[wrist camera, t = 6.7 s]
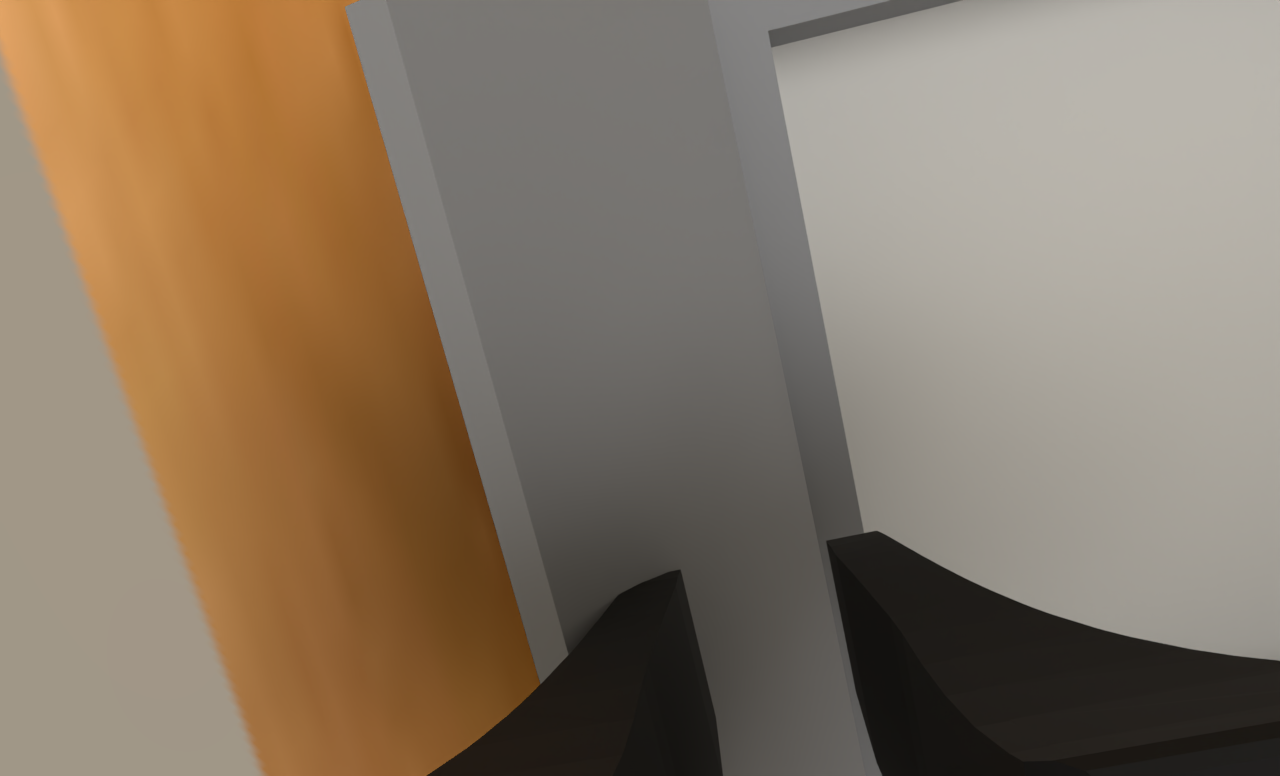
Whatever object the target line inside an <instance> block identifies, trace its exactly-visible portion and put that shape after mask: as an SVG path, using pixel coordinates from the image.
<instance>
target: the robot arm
mask: <svg viewBox="0 0 1280 776" xmlns="http://www.w3.org/2000/svg"><path fill="white" fill-rule="evenodd" d="M826 544H827V549H828V554H829V559H830V564H831V569H832V574H833V579H834V584H835V589H836V594H837V599H838V604H839V609H840V614H841V619H842V624H843V629H844V634H845V640H846V645H847V650H848V655H849V660H850V665H851V670H852V675H853V680H854V685H855V690H856V694H857V697H858V701H859V704H860V708H861V711H862V715H863V718H864V722H865V725H866V729H867V732H868V735H869V739H870V742H871V745H872V749H873V752H874V756H875V759H876V762H877V765H878V767H879V769H880V772H881V774H882V776H1280V661H1278V660H1269V659H1260V658H1251V657H1242V656H1233V655H1227V654H1220V653H1213V652H1207V651H1200V650H1194V649H1188V648H1183V647H1178V646H1173V645H1168V644H1163V643H1158V642H1153V641H1149V640H1144V639H1139V638H1134V637H1129V636H1125V635H1121V634H1117V633H1113V632H1109V631H1105V630H1102V629H1098V628H1095V627H1091V626H1088V625H1085V624H1082V623H1078V622H1075V621H1072V620H1069V619H1065V618H1062V617H1059V616H1056V615H1052V614H1049V613H1047V612H1044V611H1041V610H1038V609H1036V608H1033V607H1030V606H1027V605H1025V604H1022V603H1020V602H1018V601H1015V600H1013V599H1011V598H1008V597H1006V596H1003V595H1001V594H999V593H996V592H994V591H992V590H989V589H987V588H985V587H983V586H980V585H978V584H976V583H974V582H972V581H970V580H968V579H966V578H964V577H962V576H960V575H958V574H956V573H954V572H952V571H950V570H948V569H946V568H944V567H942V566H940V565H938V564H937V563H935V562H933V561H931V560H929V559H927V558H926V557H924V556H922V555H920V554H918V553H917V552H915V551H913V550H911V549H910V548H908V547H906V546H904V545H903V544H901V543H899V542H897V541H896V540H894V539H892V538H890V537H889V536H887V535H885V534H883V533H881V532H879V531H872V532H867V533H862V534H857V535H852V536H847V537H842V538H837V539H832V540H827V541H826ZM427 776H723V771H722V763H721V754H720V746H719V738H718V730H717V722H716V715H715V711H714V707H713V703H712V699H711V694H710V690H709V686H708V682H707V678H706V673H705V669H704V665H703V661H702V657H701V652H700V648H699V644H698V640H697V636H696V632H695V627H694V623H693V619H692V615H691V611H690V606H689V602H688V598H687V594H686V590H685V585H684V581H683V577H682V573H681V569H680V570H675V571H670V572H667V573H664V574H662V575H660V576H657V577H655V578H652V579H650V580H647V581H645V582H642V583H640V584H638V585H636V586H634V587H632V588H630V589H628V590H626V591H624V592H622V593H621V594H619V595H618V596H617V597H616V598H615V599H614V601H613V602H612V603H611V605H610V606H609V607H608V608H607V610H606V611H605V612H604V613H603V615H602V616H601V617H600V618H599V620H598V621H597V622H596V623H595V624H594V626H593V627H592V628H591V629H590V630H589V632H588V633H587V634H586V635H585V636H584V638H583V639H582V640H581V641H580V642H579V644H578V645H577V646H576V647H575V648H574V650H573V651H572V652H571V653H570V654H569V655H568V656H567V657H566V658H565V659H564V660H563V661H562V662H561V663H560V664H559V665H558V666H557V668H556V669H555V670H554V671H553V672H552V673H551V674H550V675H549V676H548V677H547V678H546V679H545V680H544V681H543V682H542V683H541V684H540V685H539V687H538V688H537V689H536V690H535V691H534V692H533V693H532V694H531V695H530V696H529V697H527V698H526V699H525V700H524V701H523V702H522V703H521V704H520V705H519V706H518V707H517V708H516V709H514V710H513V711H512V712H511V713H510V714H509V715H508V716H507V717H505V718H504V719H503V720H502V721H500V722H499V723H498V724H497V725H496V726H494V727H493V728H492V729H491V730H490V731H488V732H487V733H486V734H485V735H484V736H482V737H481V738H480V739H479V740H477V741H476V742H475V743H473V744H472V745H471V746H469V747H468V748H467V749H465V750H464V751H462V752H461V753H459V754H458V755H456V756H455V757H454V758H452V759H451V760H449V761H448V762H446V763H445V764H443V765H442V766H440V767H439V768H437V769H436V770H434V771H433V772H432V773H430V774H429V775H427Z"/></svg>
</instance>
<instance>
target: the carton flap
mask: <svg viewBox="0 0 1280 776" xmlns="http://www.w3.org/2000/svg"><path fill="white" fill-rule="evenodd" d="M345 9H346V13H347V16H348V20H349V23H350V27H351V30H352V33H353V37H354V40H355V44H356V47H357V51H358V54H359V58H360V61H361V65H362V68H363V72H364V75H365V78H366V82H367V85H368V89H369V92H370V96H371V99H372V103H373V106H374V110H375V113H376V117H377V120H378V123H379V127H380V130H381V134H382V137H383V141H384V144H385V148H386V151H387V155H388V158H389V162H390V165H391V168H392V172H393V175H394V179H395V182H396V186H397V189H398V193H399V196H400V200H401V203H402V206H403V210H404V213H405V217H406V220H407V224H408V227H409V231H410V234H411V238H412V241H413V245H414V248H415V251H416V255H417V258H418V262H419V265H420V269H421V272H422V276H423V279H424V283H425V286H426V290H427V293H428V296H429V300H430V303H431V307H432V310H433V314H434V317H435V321H436V324H437V328H438V331H439V335H440V338H441V341H442V345H443V348H444V352H445V355H446V359H447V362H448V366H449V369H450V373H451V376H452V380H453V383H454V386H455V390H456V393H457V397H458V400H459V404H460V407H461V411H462V414H463V418H464V421H465V425H466V428H467V431H468V435H469V438H470V442H471V445H472V449H473V452H474V456H475V459H476V463H477V466H478V470H479V473H480V476H481V480H482V483H483V487H484V490H485V494H486V497H487V501H488V504H489V508H490V511H491V515H492V518H493V521H494V525H495V528H496V532H497V535H498V539H499V542H500V546H501V549H502V553H503V556H504V560H505V563H506V566H507V570H508V573H509V577H510V580H511V584H512V587H513V591H514V594H515V598H516V601H517V605H518V608H519V611H520V615H521V618H522V622H523V625H524V629H525V632H526V636H527V639H528V643H529V646H530V649H531V653H532V656H533V660H534V663H535V667H536V670H537V674H538V677H539V681H540V684H541V683H542V682H543V681H544V680H545V679H546V678H547V677H548V676H549V675H550V674H551V673H552V672H553V671H554V670H555V669H556V668H557V666H558V665H559V664H560V663H561V662H562V661H563V660H564V659H565V658H566V657H567V656H568V655H569V654H570V653H571V652H572V651H573V650H574V648H575V647H576V646H577V645H578V644H579V642H580V641H581V640H582V639H583V638H584V636H585V635H586V634H587V633H588V632H589V630H590V629H591V628H592V627H593V626H594V624H595V623H596V622H597V621H598V620H599V618H600V617H601V616H602V615H603V613H604V612H605V611H606V610H607V608H608V607H609V606H610V605H611V603H612V602H613V601H614V599H615V598H616V597H617V596H618V595H619V594H621V593H622V592H624V591H626V590H628V589H630V588H632V587H634V586H636V585H638V584H640V583H642V582H645V581H647V580H650V579H652V578H655V577H657V576H660V575H662V574H664V573H667V572H670V571H675V570H680V569H681V573H682V577H683V581H684V585H685V590H686V594H687V598H688V602H689V606H690V611H691V615H692V619H693V623H694V627H695V632H696V636H697V640H698V644H699V648H700V652H701V657H702V661H703V665H704V669H705V673H706V678H707V682H708V686H709V690H710V694H711V699H712V703H713V707H714V711H715V715H716V722H717V730H718V738H719V746H720V754H721V763H722V771H723V776H866V774H865V769H864V764H863V759H862V754H861V750H860V745H859V740H858V735H857V730H856V725H855V720H854V715H853V710H852V706H851V701H850V696H849V691H848V686H847V681H846V676H845V671H844V666H843V661H842V657H841V652H840V647H839V642H838V637H837V632H836V627H835V622H834V617H833V613H832V608H831V603H830V598H829V593H828V588H827V583H826V578H825V573H824V568H823V564H822V559H821V554H820V549H819V544H818V539H817V534H816V529H815V524H814V520H813V515H812V510H811V505H810V500H809V495H808V490H807V485H806V480H805V475H804V471H803V466H802V461H801V456H800V451H799V446H798V441H797V436H796V431H795V427H794V422H793V417H792V412H791V407H790V402H789V397H788V392H787V387H786V383H785V378H784V373H783V368H782V363H781V358H780V353H779V348H778V343H777V338H776V334H775V329H774V324H773V319H772V314H771V309H770V304H769V299H768V294H767V290H766V285H765V280H764V275H763V270H762V265H761V260H760V255H759V250H758V245H757V241H756V236H755V231H754V226H753V221H752V216H751V211H750V206H749V201H748V197H747V192H746V187H745V182H744V177H743V172H742V167H741V162H740V157H739V152H738V148H737V143H736V138H735V133H734V128H733V123H732V118H731V113H730V108H729V104H728V99H727V94H726V89H725V84H724V79H723V74H722V69H721V64H720V59H719V55H718V50H717V45H716V40H715V35H714V30H713V25H712V20H711V15H710V11H709V6H708V1H707V0H360V1H357V2H355V3H353V4H350V5H348V6H346V7H345Z"/></svg>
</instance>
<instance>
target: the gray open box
mask: <svg viewBox="0 0 1280 776" xmlns="http://www.w3.org/2000/svg"><path fill="white" fill-rule="evenodd" d="M707 1H708V6H709V11H710V15H711V20H712V25H713V30H714V35H715V40H716V45H717V50H718V55H719V59H720V64H721V69H722V74H723V79H724V84H725V89H726V94H727V99H728V104H729V108H730V113H731V118H732V123H733V128H734V133H735V138H736V143H737V148H738V152H739V157H740V162H741V167H742V172H743V177H744V182H745V187H746V192H747V197H748V201H749V206H750V211H751V216H752V221H753V226H754V231H755V236H756V241H757V245H758V250H759V255H760V260H761V265H762V270H763V275H764V280H765V285H766V290H767V294H768V299H769V304H770V309H771V314H772V319H773V324H774V329H775V334H776V338H777V343H778V348H779V353H780V358H781V363H782V368H783V373H784V378H785V383H786V387H787V392H788V397H789V402H790V407H791V412H792V417H793V422H794V427H795V431H796V436H797V441H798V446H799V451H800V456H801V461H802V466H803V471H804V475H805V480H806V485H807V490H808V495H809V500H810V505H811V510H812V515H813V520H814V524H815V529H816V534H817V539H818V544H819V549H820V554H821V559H822V564H823V568H824V573H825V578H826V583H827V588H828V593H829V598H830V603H831V608H832V613H833V617H834V622H835V627H836V632H837V637H838V642H839V647H840V652H841V657H842V661H843V666H844V671H845V676H846V681H847V686H848V691H849V696H850V701H851V706H852V710H853V715H854V720H855V725H856V730H857V735H858V740H859V745H860V750H861V754H862V759H863V764H864V769H865V774H866V776H882V774H881V772H880V769H879V767H878V765H877V762H876V759H875V756H874V752H873V749H872V745H871V742H870V739H869V735H868V732H867V729H866V725H865V722H864V718H863V715H862V711H861V708H860V704H859V701H858V697H857V694H856V690H855V685H854V680H853V675H852V670H851V665H850V660H849V655H848V650H847V645H846V640H845V634H844V629H843V624H842V619H841V614H840V609H839V604H838V599H837V594H836V589H835V584H834V579H833V574H832V569H831V564H830V559H829V554H828V549H827V544H826V541H827V540H832V539H837V538H842V537H847V536H852V535H857V534H862V533H867V532H872V531H879V532H881V533H883V534H885V535H887V536H889V537H890V538H892V539H894V540H896V541H897V542H899V543H901V544H903V545H904V546H906V547H908V548H910V549H911V550H913V551H915V552H917V553H918V554H920V555H922V556H924V557H926V558H927V559H929V560H931V561H933V562H935V563H937V564H938V565H940V566H942V567H944V568H946V569H948V570H950V571H952V572H954V573H956V574H958V575H960V576H962V577H964V578H966V579H968V580H970V581H972V582H974V583H976V584H978V585H980V586H983V587H985V588H987V589H989V590H992V591H994V592H996V593H999V594H1001V595H1003V596H1006V597H1008V598H1011V599H1013V600H1015V601H1018V602H1020V603H1022V604H1025V605H1027V606H1030V607H1033V608H1036V609H1038V610H1041V611H1044V612H1047V613H1049V614H1052V615H1056V616H1059V617H1062V618H1065V619H1069V620H1072V621H1075V622H1078V623H1082V624H1085V625H1088V626H1091V627H1095V628H1098V629H1102V630H1105V631H1109V632H1113V633H1117V634H1121V635H1125V636H1129V637H1134V638H1139V639H1144V640H1149V641H1153V642H1158V643H1163V644H1168V645H1173V646H1178V647H1183V648H1188V649H1194V650H1200V651H1207V652H1213V653H1220V654H1227V655H1233V656H1242V657H1251V658H1260V659H1269V660H1278V661H1280V0H707Z"/></svg>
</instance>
